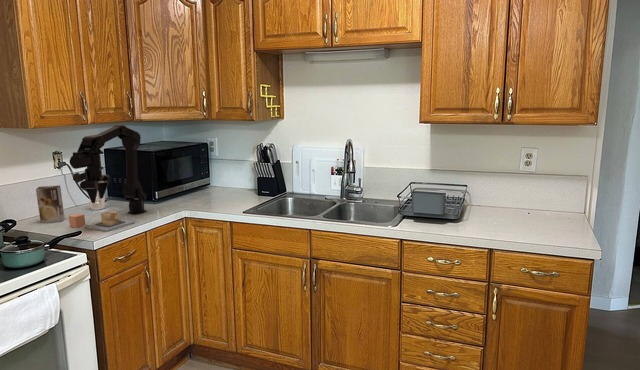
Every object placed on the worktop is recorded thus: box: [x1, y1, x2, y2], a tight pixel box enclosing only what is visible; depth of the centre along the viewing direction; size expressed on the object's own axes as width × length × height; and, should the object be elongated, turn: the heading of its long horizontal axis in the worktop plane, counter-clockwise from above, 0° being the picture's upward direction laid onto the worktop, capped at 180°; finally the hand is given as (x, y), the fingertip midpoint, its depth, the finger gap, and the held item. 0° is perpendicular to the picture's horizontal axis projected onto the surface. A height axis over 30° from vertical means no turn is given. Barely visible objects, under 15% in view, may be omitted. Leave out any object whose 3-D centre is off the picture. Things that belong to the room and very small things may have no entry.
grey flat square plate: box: [85, 218, 136, 233], centre depth 211 cm, size 15×13×1 cm
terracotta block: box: [68, 213, 86, 229], centre depth 211 cm, size 4×4×5 cm
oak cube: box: [100, 210, 120, 226], centre depth 211 cm, size 5×5×5 cm
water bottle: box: [88, 192, 106, 211], centre depth 241 cm, size 7×7×25 cm
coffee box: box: [35, 185, 66, 224], centre depth 219 cm, size 9×6×16 cm
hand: (97, 200), depth 209 cm, fingers open, 9 cm apart
